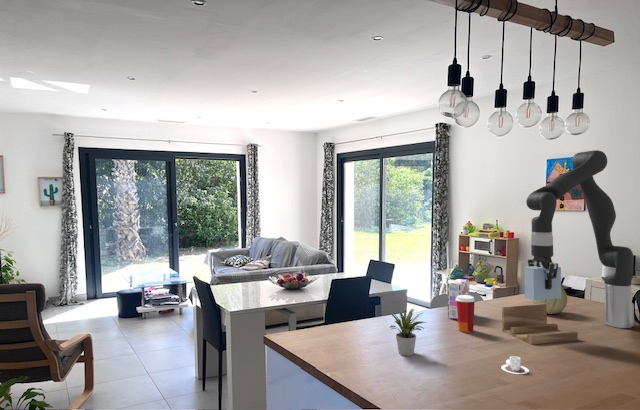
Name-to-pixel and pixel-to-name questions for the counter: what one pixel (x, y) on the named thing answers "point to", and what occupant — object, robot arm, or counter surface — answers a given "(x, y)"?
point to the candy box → (454, 290)
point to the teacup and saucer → (514, 365)
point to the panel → (541, 284)
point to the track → (533, 324)
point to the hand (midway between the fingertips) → (542, 287)
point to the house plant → (406, 332)
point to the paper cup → (465, 313)
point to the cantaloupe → (554, 303)
